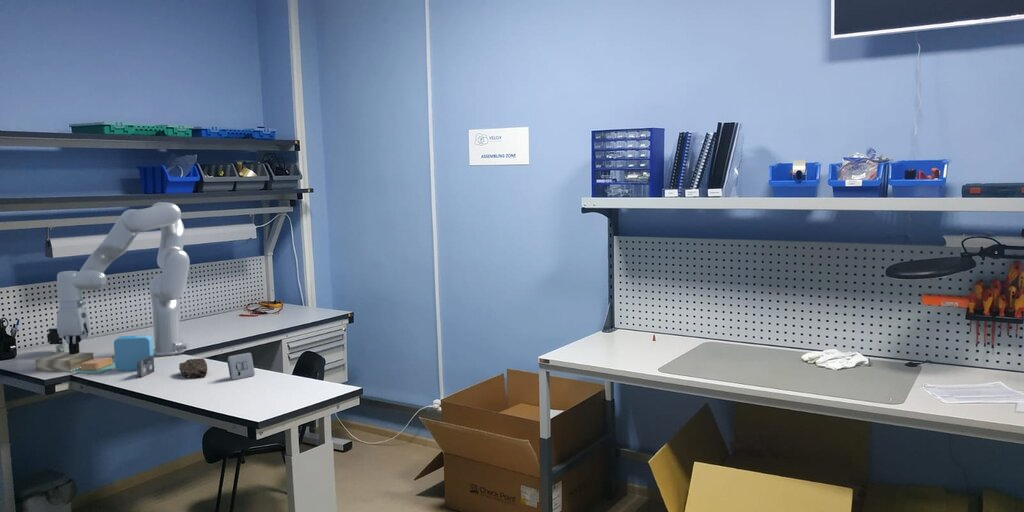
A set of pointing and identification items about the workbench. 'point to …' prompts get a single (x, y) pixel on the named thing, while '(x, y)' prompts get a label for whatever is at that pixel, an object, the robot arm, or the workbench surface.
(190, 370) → the brown rock
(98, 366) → the orange sponge
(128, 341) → the data package
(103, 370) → the mat
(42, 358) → the deck
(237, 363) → the electrical switch
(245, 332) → the workbench surface
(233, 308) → the workbench surface
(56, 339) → the pneumatic valve
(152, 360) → the mini dv tape
